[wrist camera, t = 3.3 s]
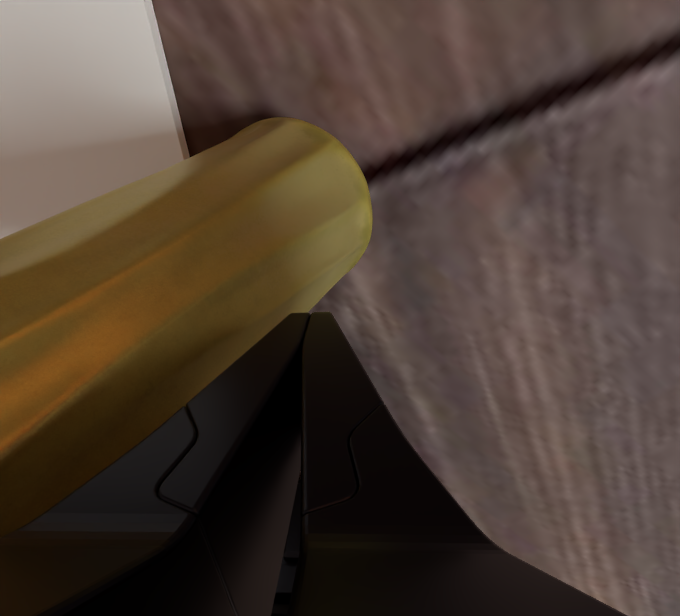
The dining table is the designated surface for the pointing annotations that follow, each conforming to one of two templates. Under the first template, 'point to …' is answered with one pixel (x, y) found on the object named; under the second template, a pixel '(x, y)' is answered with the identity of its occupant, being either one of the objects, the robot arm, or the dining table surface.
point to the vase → (161, 297)
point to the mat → (80, 104)
